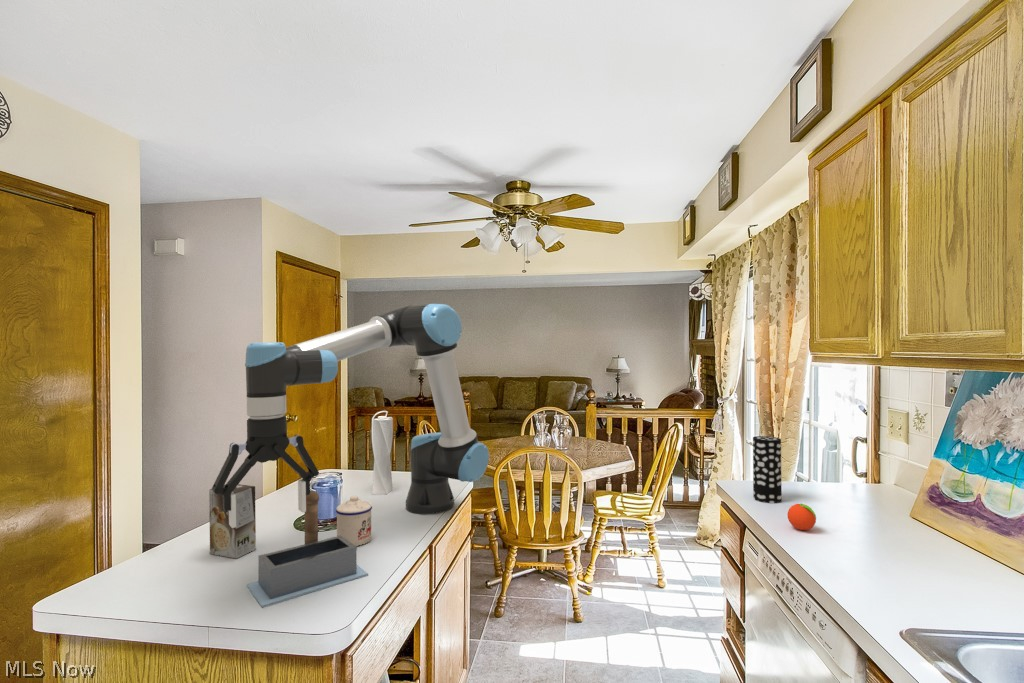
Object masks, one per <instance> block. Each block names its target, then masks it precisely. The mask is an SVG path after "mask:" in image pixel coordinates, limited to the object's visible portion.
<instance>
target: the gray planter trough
mask: <svg viewBox="0 0 1024 683" xmlns="http://www.w3.org/2000/svg"><path fill="white" fill-rule="evenodd" d="M257 558H258V560H257V561H258V573H257V574H258V576H257V577H258V581H259V585H260V586H261V588H262V589H263V590H264V592H265V593H266V594H267V596H268V597H269V598H270V600H271V599H274V598H277V597H281V596H284V595H287V594H291V593H294V592H297V591H301V590H304V589H307V588H311V587H314V586H317V585H321V584H324V583H327V582H331V581H334V580H337V579H341V578H344V577H347V576H351V575H354V574H357V565H358V564H357V546H355V545H353V544H352V543H350V542H349V541H348V540H346V539H345V538H344V537H342V536H337V535H336V536H334V537H330V538H325V539H322V540H321V539H320V540H318V541H316V542H312V543H308V544H305V543H304V544H300V545H297V546H293V547H289V548H284V549H280V550H276V551H272V552H268V553H264V554H259V555H258V556H257Z"/></svg>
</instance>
